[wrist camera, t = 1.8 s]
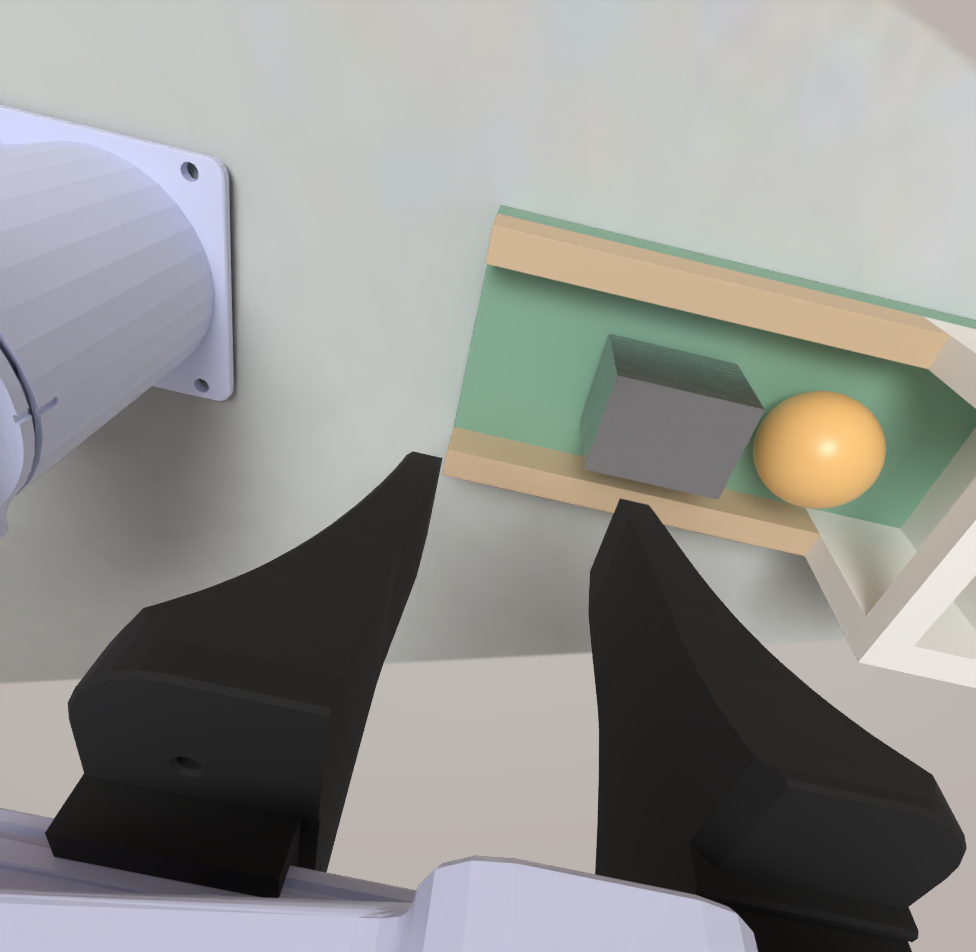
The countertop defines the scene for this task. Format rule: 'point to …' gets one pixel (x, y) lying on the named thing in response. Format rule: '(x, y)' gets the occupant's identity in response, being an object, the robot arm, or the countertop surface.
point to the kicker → (667, 417)
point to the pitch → (774, 378)
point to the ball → (819, 449)
